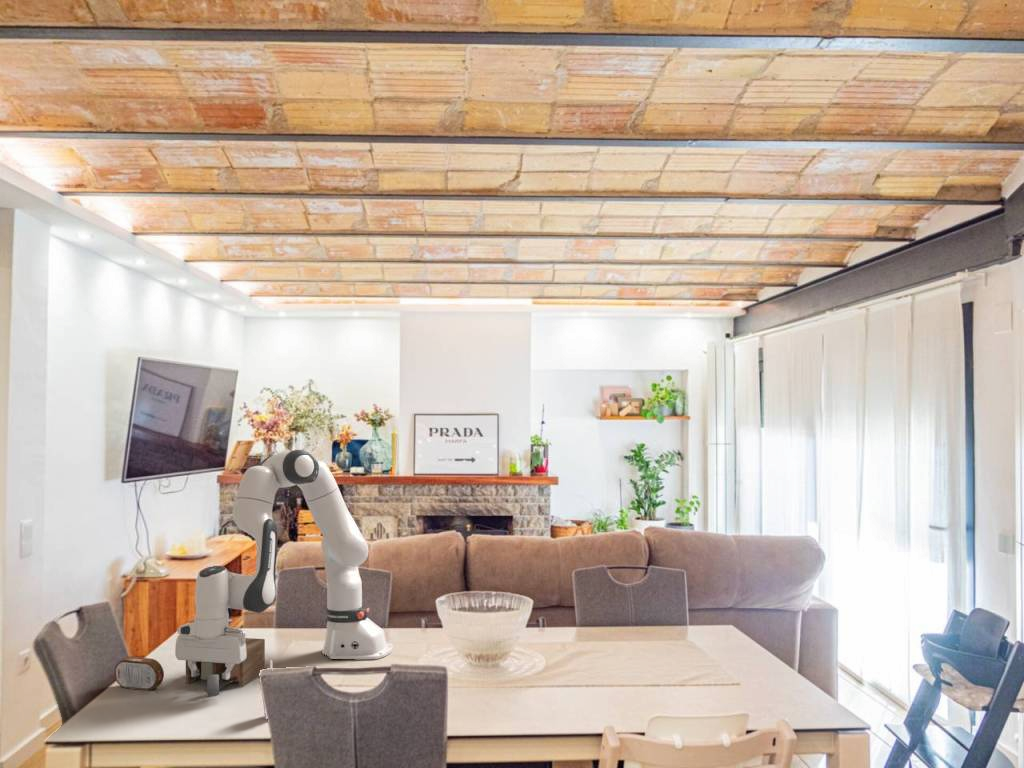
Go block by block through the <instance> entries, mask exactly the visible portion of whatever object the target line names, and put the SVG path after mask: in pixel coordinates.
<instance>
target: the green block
mask: <svg viewBox="0 0 1024 768" xmlns="http://www.w3.org/2000/svg"><path fill="white" fill-rule="evenodd" d="M209 675H212V662H201V677H200V679H201V680H207V676H209Z"/></svg>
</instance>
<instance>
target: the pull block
mask: <svg viewBox="0 0 1024 768" xmlns="http://www.w3.org/2000/svg"><path fill="white" fill-rule="evenodd" d="M206 680H207V681H206V682H207V683H206V685H207V687H206V688H207V689H206V691H207V692H206V693H207V695H208V696H207V695H206V696H207V697H216V696H218V695H219V694H220V689H222V688H223V687H225V686H227V685H228V684H230V683H232V682H240V664H234V666H233V668H232V670H231V671H230V678H229V679H227V680H226V681H224V682H222V683H219V675H218V674H212V675H209V676H207V679H206Z"/></svg>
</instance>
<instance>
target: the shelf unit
mask: <svg viewBox="0 0 1024 768" xmlns="http://www.w3.org/2000/svg"><path fill="white" fill-rule="evenodd" d="M265 642H266V641H265V638H255V637H254V638H249V637H245V643H246V652H247V657H246V659H245V660H244V661H243V662H242V663H240V681H239V687H241V688H243V687H244V686H246V685H247V684H249V683H251V682H252V681H254V680H256V679H258V678H260V676H259V673H260V670H262V669H265V670H266V667H265V666H266V664H265V663H266V659H265V658H266V656H265V655H266V654H265V653H266V646H265V645H266V643H265ZM195 664H196V667H197V669H200V672H199V673H200V675H199V676H198V677H192V676H191V670H190V668H189V666H188V661H186V660H185V684H190V683H191V682H194V681H195V679H196V680H198V679H199V678H201V662H200V661H197V662H196V663H195ZM226 669H227V667H225V663H214V662H212V674H218V675H219V684H221V681H222V682H223V681H225V680H226V679H222V673H223V672H225V671H226ZM255 678H256V679H255Z"/></svg>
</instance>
